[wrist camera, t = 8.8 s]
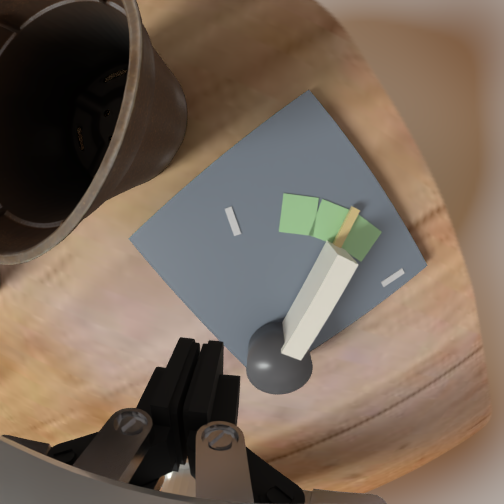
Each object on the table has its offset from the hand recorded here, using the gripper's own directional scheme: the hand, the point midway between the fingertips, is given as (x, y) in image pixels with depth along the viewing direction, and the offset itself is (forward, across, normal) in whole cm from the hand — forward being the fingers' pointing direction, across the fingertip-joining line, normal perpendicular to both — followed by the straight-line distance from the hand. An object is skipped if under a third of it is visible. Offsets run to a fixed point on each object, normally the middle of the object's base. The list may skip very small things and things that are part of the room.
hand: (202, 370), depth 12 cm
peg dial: (+16, -6, +3) cm, 17 cm away
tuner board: (+17, -4, -1) cm, 17 cm away
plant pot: (+17, +11, -11) cm, 23 cm away
